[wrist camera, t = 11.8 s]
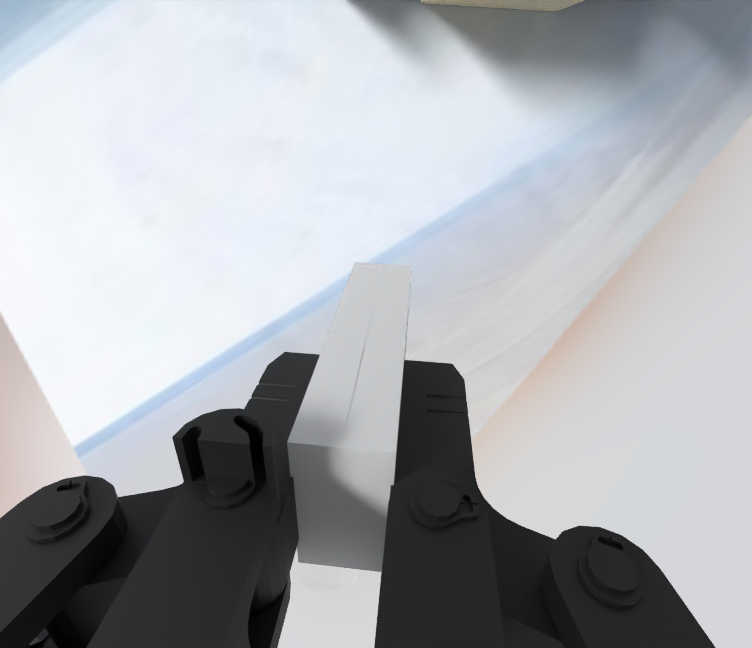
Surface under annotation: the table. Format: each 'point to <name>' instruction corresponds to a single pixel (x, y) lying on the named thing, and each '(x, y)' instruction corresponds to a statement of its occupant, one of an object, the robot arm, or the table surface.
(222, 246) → the table surface
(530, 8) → the valve
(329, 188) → the table surface
